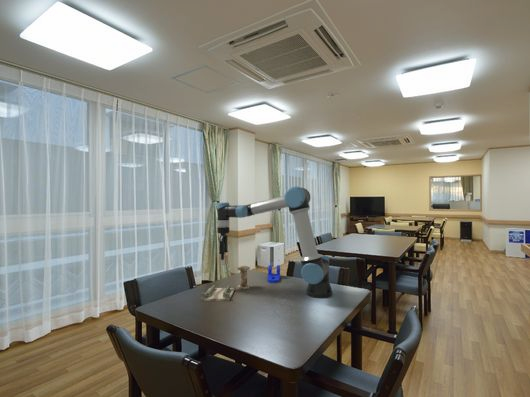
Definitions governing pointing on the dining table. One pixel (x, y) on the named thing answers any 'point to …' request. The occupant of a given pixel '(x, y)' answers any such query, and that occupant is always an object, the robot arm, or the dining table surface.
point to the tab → (225, 259)
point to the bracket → (273, 275)
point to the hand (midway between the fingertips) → (223, 263)
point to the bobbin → (243, 277)
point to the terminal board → (218, 294)
